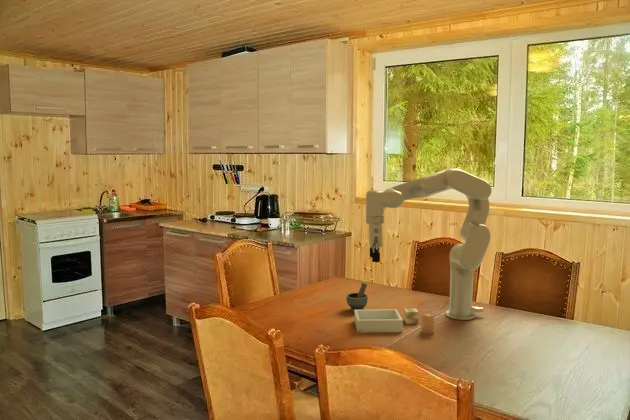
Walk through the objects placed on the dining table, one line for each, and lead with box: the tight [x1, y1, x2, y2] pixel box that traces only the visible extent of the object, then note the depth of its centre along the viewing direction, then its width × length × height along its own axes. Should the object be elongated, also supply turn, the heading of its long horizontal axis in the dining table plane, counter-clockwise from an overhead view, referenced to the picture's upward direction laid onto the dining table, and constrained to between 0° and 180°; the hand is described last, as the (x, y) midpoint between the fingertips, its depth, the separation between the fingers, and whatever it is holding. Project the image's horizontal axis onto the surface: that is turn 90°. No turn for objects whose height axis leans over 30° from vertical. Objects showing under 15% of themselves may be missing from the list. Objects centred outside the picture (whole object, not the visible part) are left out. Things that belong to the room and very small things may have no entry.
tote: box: [353, 308, 404, 334], centre depth 213 cm, size 18×14×5 cm
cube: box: [403, 307, 419, 325], centre depth 219 cm, size 5×5×5 cm
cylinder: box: [420, 312, 435, 335], centre depth 206 cm, size 5×5×7 cm
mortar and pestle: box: [346, 282, 369, 313], centre depth 234 cm, size 11×9×12 cm
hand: (374, 259), depth 221 cm, fingers open, 9 cm apart
